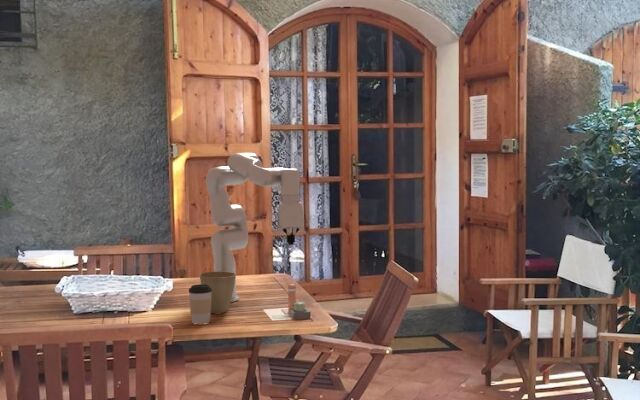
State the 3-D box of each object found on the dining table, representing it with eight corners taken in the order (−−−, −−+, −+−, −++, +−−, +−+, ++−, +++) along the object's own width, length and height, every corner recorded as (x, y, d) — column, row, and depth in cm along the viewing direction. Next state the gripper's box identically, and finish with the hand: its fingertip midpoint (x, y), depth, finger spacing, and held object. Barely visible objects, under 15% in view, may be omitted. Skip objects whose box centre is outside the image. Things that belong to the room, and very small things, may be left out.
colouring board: (272, 322, 293) (272, 320, 293) (262, 311, 312) (262, 309, 312) (311, 319, 297) (311, 317, 297) (300, 308, 316) (300, 306, 316)
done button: (295, 317, 296) (295, 304, 296) (293, 314, 301) (293, 302, 300) (306, 316, 297) (306, 304, 297) (304, 313, 302) (303, 301, 301)
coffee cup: (190, 320, 297) (189, 283, 296) (213, 319, 298) (212, 282, 297) (188, 325, 288) (187, 287, 287) (212, 324, 289) (211, 286, 288)
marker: (289, 312, 306) (288, 285, 305) (287, 310, 309) (287, 284, 308) (297, 311, 307) (296, 285, 306) (295, 310, 310) (294, 283, 309)
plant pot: (207, 317, 301) (206, 278, 300) (195, 310, 314) (194, 273, 313) (241, 313, 308) (241, 275, 307) (229, 306, 321) (228, 270, 320)
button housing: (293, 318, 295) (293, 312, 295) (289, 315, 301) (289, 309, 301) (310, 317, 297) (310, 311, 296) (306, 313, 303) (306, 307, 303)
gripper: (273, 200, 295) (274, 246, 296) (310, 199, 298) (311, 244, 300) (270, 199, 302) (271, 244, 303) (305, 198, 306) (306, 242, 307)
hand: (290, 244), depth 302 cm, fingers closed
